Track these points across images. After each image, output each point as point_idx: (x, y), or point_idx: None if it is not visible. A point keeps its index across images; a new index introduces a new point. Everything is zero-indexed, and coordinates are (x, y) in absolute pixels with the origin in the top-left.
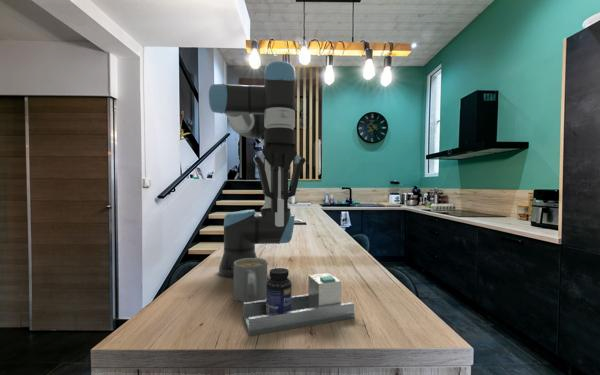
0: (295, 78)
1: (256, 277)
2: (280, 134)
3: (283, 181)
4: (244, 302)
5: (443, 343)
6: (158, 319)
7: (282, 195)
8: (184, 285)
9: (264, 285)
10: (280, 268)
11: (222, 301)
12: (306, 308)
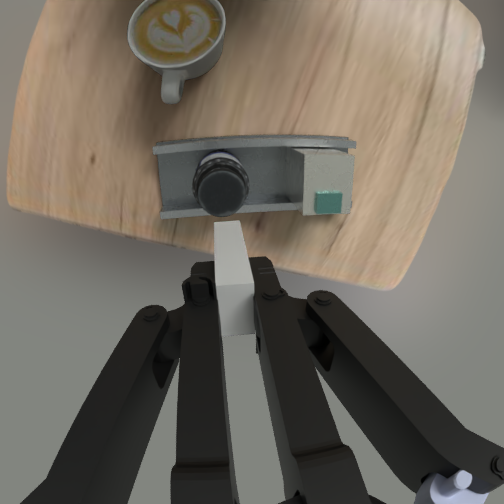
0: None
1: (187, 71)
2: None
3: (270, 414)
4: (154, 147)
5: (385, 282)
6: (35, 134)
7: (258, 324)
8: None
9: (211, 63)
10: (229, 177)
11: (124, 68)
12: (277, 158)
